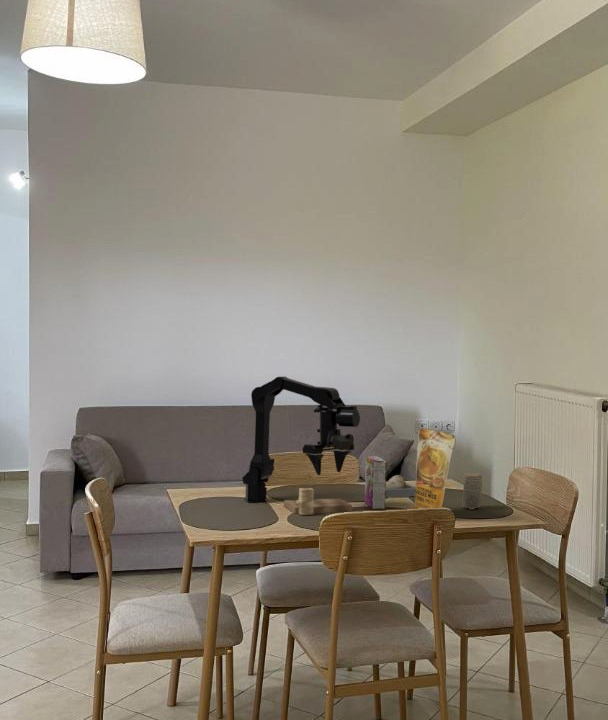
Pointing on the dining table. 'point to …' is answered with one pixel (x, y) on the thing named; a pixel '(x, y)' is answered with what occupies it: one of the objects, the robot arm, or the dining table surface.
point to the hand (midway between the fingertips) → (328, 473)
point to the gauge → (305, 501)
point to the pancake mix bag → (432, 466)
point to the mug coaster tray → (401, 492)
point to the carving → (472, 490)
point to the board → (321, 505)
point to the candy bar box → (375, 482)
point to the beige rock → (396, 483)
